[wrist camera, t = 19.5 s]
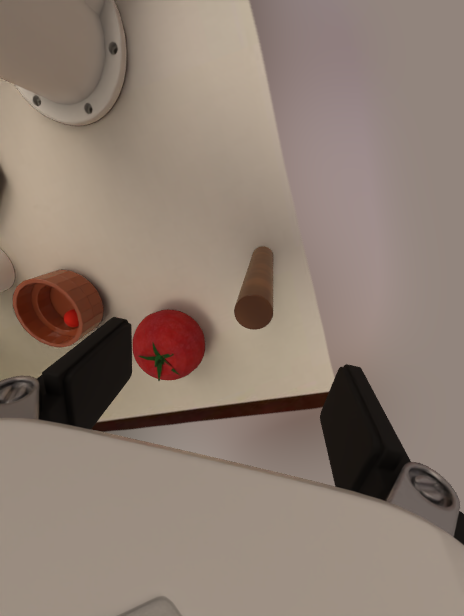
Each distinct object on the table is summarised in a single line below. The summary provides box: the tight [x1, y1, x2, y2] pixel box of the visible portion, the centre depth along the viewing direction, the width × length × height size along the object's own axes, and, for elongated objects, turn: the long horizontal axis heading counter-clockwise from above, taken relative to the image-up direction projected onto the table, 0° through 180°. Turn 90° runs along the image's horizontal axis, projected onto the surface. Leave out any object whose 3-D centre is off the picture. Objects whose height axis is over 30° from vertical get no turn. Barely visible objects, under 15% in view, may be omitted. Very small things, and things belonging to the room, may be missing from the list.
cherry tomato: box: [64, 309, 79, 327], centre depth 34 cm, size 2×2×2 cm
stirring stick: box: [234, 246, 273, 329], centre depth 23 cm, size 2×2×15 cm
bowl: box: [13, 270, 103, 347], centre depth 33 cm, size 9×9×5 cm
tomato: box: [133, 310, 205, 380], centre depth 31 cm, size 9×9×8 cm
